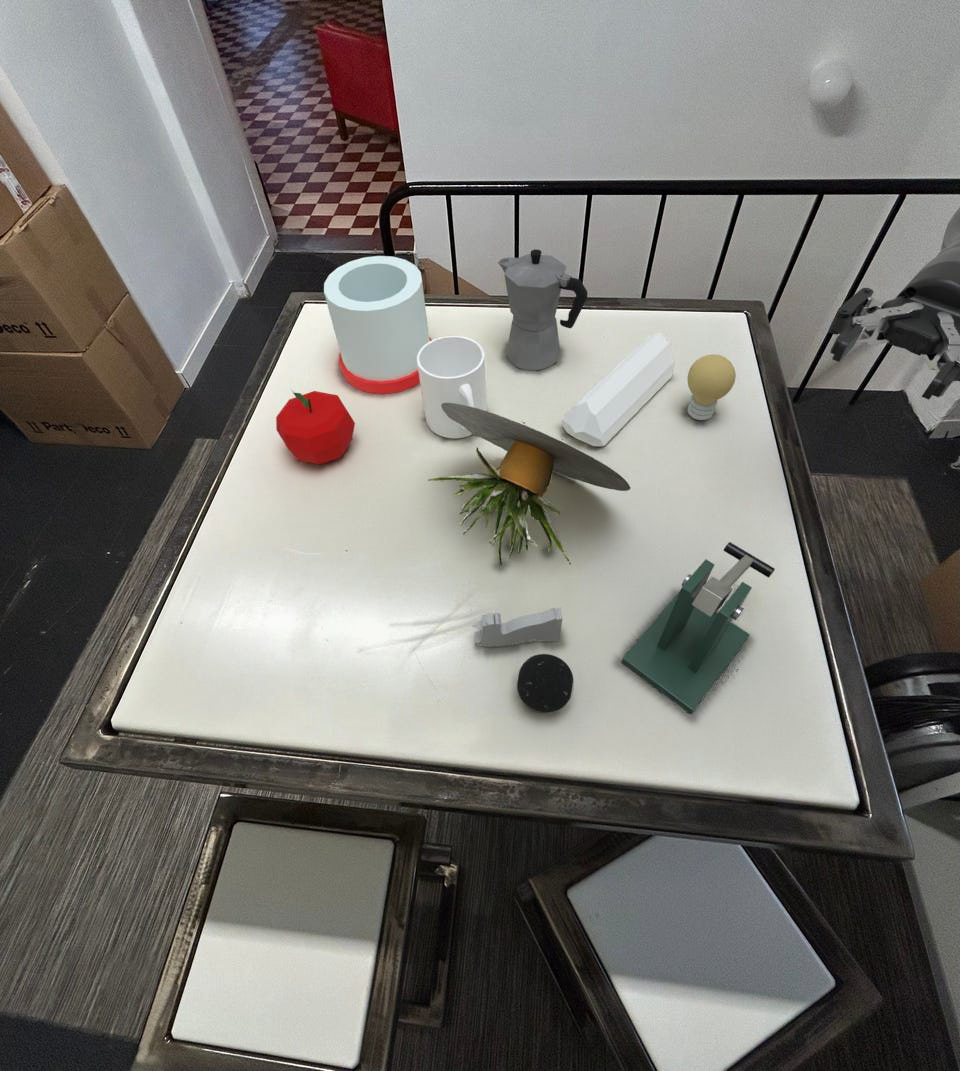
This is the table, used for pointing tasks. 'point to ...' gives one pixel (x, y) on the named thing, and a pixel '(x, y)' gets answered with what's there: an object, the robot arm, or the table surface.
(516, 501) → the upside-down potted plant
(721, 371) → the light bulb
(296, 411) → the apple
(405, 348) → the container
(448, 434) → the mug
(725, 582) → the switch lever
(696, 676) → the switch bracket
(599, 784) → the table surface
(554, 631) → the grey tape dispenser
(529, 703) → the billiard ball
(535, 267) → the coffeepot
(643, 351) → the crystal
